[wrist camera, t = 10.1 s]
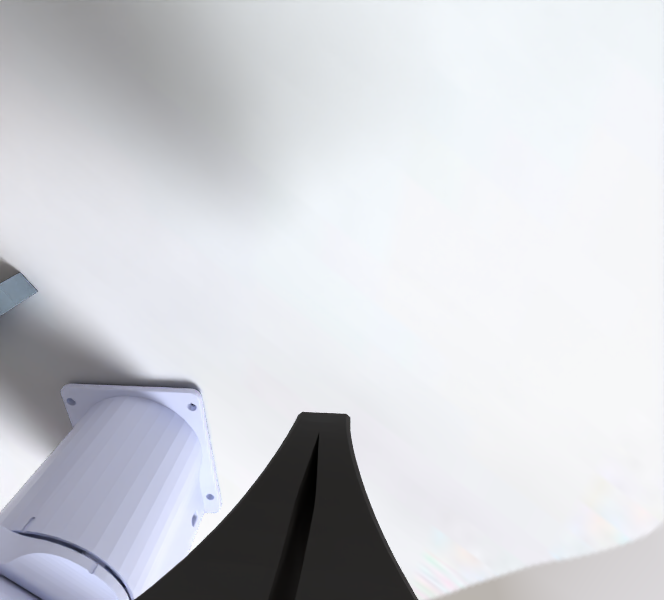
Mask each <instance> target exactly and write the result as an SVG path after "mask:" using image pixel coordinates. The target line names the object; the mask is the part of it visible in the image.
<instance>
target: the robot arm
mask: <svg viewBox="0 0 664 600" xmlns="http://www.w3.org/2000/svg"><path fill="white" fill-rule="evenodd" d="M60 392H61V396H62V399H63V402H64V404H65V407H66V410H67V413H68V415H69V418H70V421H71V424H72V427H73V429H72V430H71V431H70V432H69V433H68V434H67V436H66V437H65V438H64V439H63V440H62V441H61V442H60V444H59V445H58V446H57V447H56V448H55V449H54V451H53V452H52V453H51V454H50V455H49V456H48V458H47V459H46V460H45V461H44V462H43V463H42V464H41V466H40V467H39V468H38V469H37V470H36V471H35V473H34V474H33V475H32V476H31V477H30V478H29V480H28V481H27V482H26V483H25V484H24V485H23V486H22V488H21V489H20V490H19V491H18V492H17V493H16V495H15V496H14V497H13V498H12V499H11V500H10V502H9V503H8V504H7V505H6V506H5V507H4V508H3V510H2V511H1V512H0V600H418V598H417V597H416V595H415V594H414V592H413V590H412V588H411V586H410V585H409V583H408V581H407V579H406V577H405V576H404V574H403V572H402V570H401V568H400V567H399V565H398V563H397V561H396V559H395V557H394V555H393V553H392V551H391V549H390V547H389V545H388V543H387V541H386V539H385V537H384V535H383V533H382V530H381V528H380V526H379V524H378V521H377V519H376V517H375V514H374V512H373V509H372V507H371V504H370V502H369V499H368V496H367V493H366V491H365V488H364V485H363V482H362V479H361V476H360V472H359V469H358V465H357V462H356V458H355V454H354V450H353V445H352V439H351V432H350V417H349V416H348V415H347V414H336V413H313V412H302V413H300V414H299V415H298V417H297V419H296V421H295V423H294V424H293V426H292V428H291V430H290V431H289V433H288V435H287V437H286V438H285V440H284V441H283V443H282V445H281V446H280V448H279V449H278V451H277V452H276V454H275V455H274V457H273V458H272V459H271V461H270V462H269V464H268V465H267V467H266V468H265V470H264V471H263V472H262V474H261V475H260V476H259V477H258V479H257V480H256V481H255V483H254V484H253V485H252V486H251V488H250V489H249V490H248V492H247V493H246V494H245V495H244V497H243V498H242V499H241V500H240V501H239V503H238V504H237V505H236V506H235V507H234V508H233V509H232V511H231V512H230V513H229V514H228V515H227V516H226V517H225V518H224V519H223V520H222V522H221V523H220V524H219V525H218V526H217V527H216V528H215V529H214V530H213V531H212V532H211V533H210V534H209V535H208V536H207V537H206V538H205V539H204V540H203V541H202V542H201V543H200V544H199V545H198V546H197V547H196V548H195V549H194V550H193V551H191V552H190V553H189V554H188V552H189V550H190V547H191V545H192V542H193V540H194V537H195V535H196V532H197V530H198V527H199V525H200V522H201V520H202V517H203V515H204V513H217V512H219V511H220V509H221V506H222V502H221V497H220V492H219V486H218V481H217V476H216V470H215V465H214V460H213V454H212V449H211V444H210V438H209V433H208V428H207V422H206V417H205V412H204V406H203V401H202V396H201V394H200V392H199V391H197V390H195V389H192V388H167V387H142V386H117V385H92V384H66V385H65V386H64V387H63V388H62V389H61V391H60ZM74 400H75V401H74ZM190 403H192V404H194V405H196V406H193V405H191V404H190Z"/></svg>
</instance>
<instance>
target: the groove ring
mask: <svg viewBox="0 0 664 600" xmlns="http://www.w3.org/2000/svg"><path fill="white" fill-rule="evenodd" d="M36 292H38V291H37V290H36V289H35V288H34V287H33V286H32V285H31V284H30V283H29V281H28V280H27V279H26V278H25V277H24V276H23V275H22V274H21V273H18V274H16V275H14V276H13V277H11V278H9V279H7V280H5V281H4V282H2V283H0V316H2V315H3V314H5V313H6V312H8V311H9V310H11V309H12V308H14V307H15V306H17V305H18V304H20V303H21V302H23V301H24V300H26V299H27V298H29V297H30V296H32V295H33V294H35V293H36Z"/></svg>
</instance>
